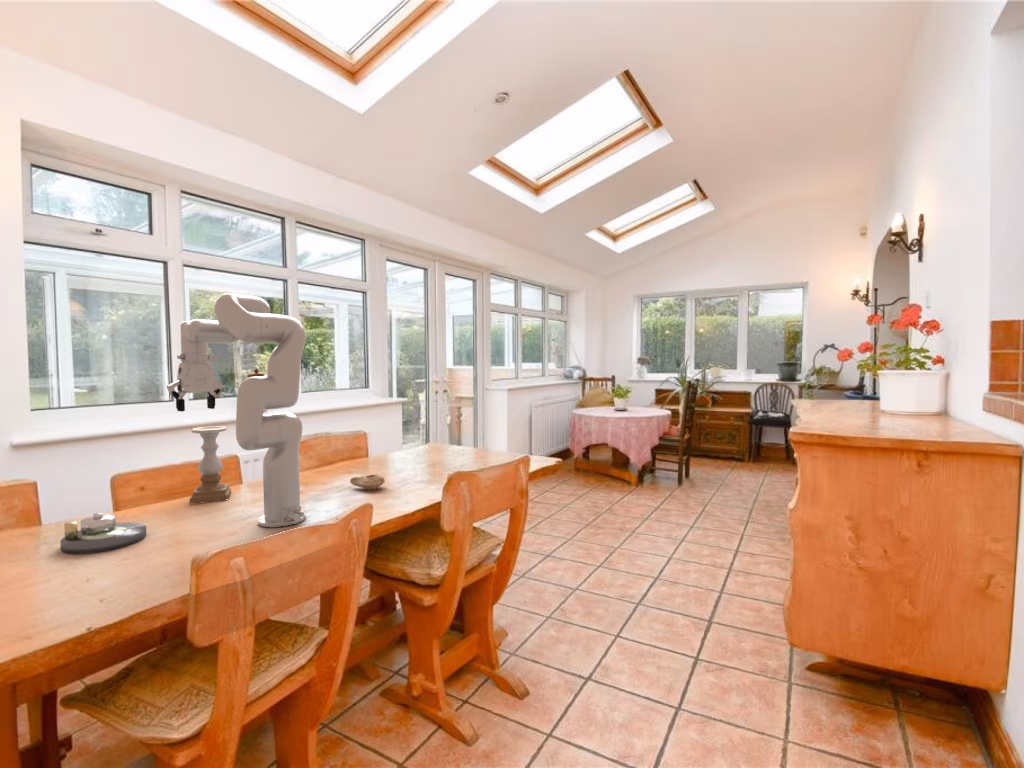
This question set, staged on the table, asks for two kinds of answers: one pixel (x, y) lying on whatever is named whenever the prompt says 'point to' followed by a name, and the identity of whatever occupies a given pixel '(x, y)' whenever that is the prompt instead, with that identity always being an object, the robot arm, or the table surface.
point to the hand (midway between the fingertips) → (196, 409)
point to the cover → (98, 523)
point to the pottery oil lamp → (368, 481)
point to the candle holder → (210, 468)
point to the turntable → (101, 538)
